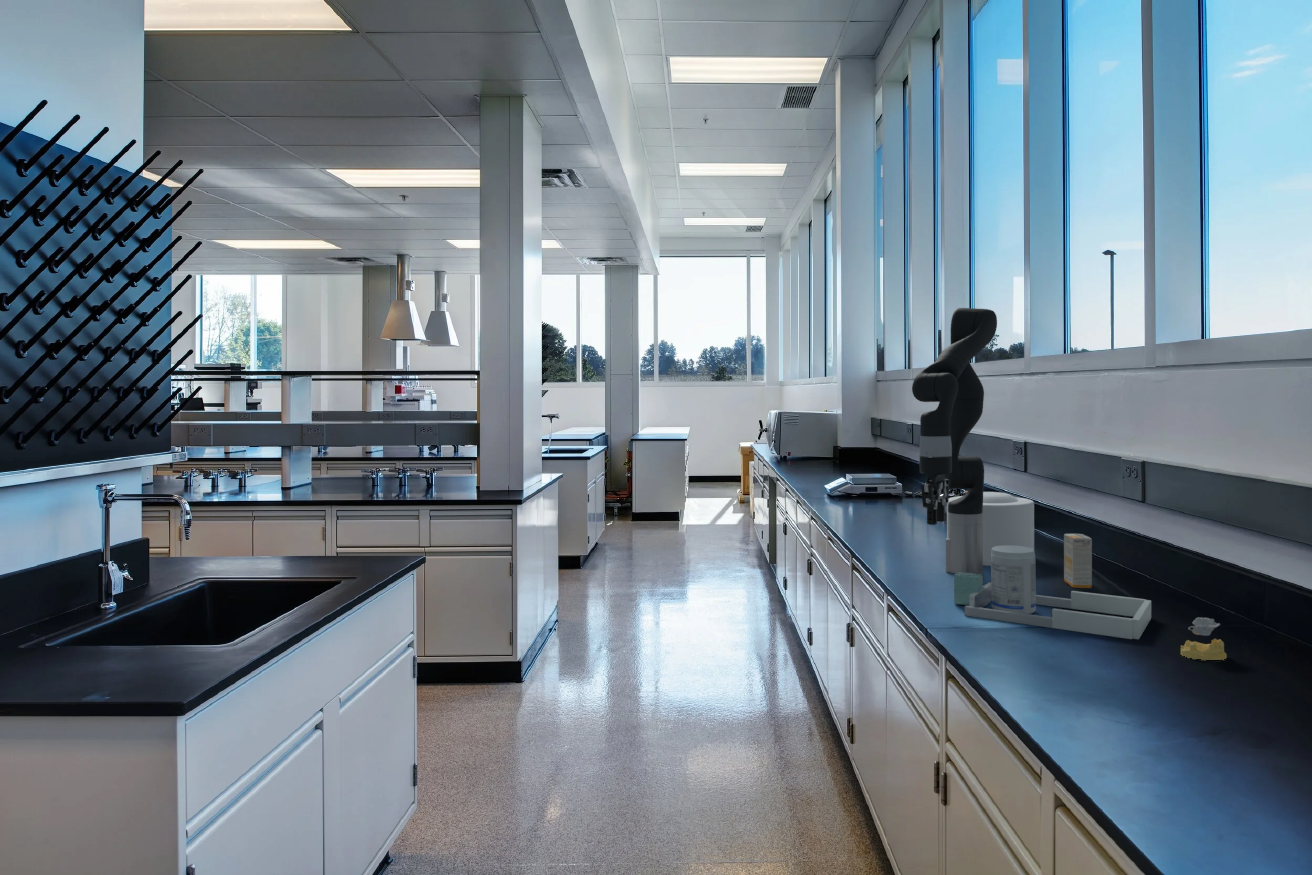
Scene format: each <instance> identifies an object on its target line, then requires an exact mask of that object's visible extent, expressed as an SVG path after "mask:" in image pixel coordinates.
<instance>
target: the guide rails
mask: <svg viewBox="0 0 1312 875" xmlns="http://www.w3.org/2000/svg"><path fill="white" fill-rule="evenodd" d="M1036 605H1038V606H1047V607H1055V608H1064V609H1070V610H1071V598H1067V597H1066V598H1065V597H1057V596H1048V595H1041V594H1040V595H1039V594H1036ZM964 616H967V617H975V618H980V619H986V620H987V619H988V620H994V621H1002V622H1007V623H1009V622H1010V623H1015V624H1016V623H1017V624H1021V625H1022V624H1023V625H1030V626H1036V627H1042V628H1043V627H1044V628H1051V629H1053V628H1052V616H1046V615H1039V614H1038V615H1037V614H1032V613H1031V614H1024V613H1017V612H1009V611H1002V610H994V609H993V608H987V607H986V608H985V607H982V608H980V607H972V606H968V605H964Z"/></svg>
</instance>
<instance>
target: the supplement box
mask: <svg viewBox="0 0 1312 875" xmlns="http://www.w3.org/2000/svg"><path fill="white" fill-rule="evenodd" d="M1092 550H1093V539H1092V538H1091V537H1090V536H1088V535H1085V534H1083V533H1064V534H1063V557H1064V558H1063V577H1064V578H1063V582H1064V583H1066V584H1068V585H1070V587H1072V588H1074V589H1075V588H1076V589H1092V587H1093V572H1092V571H1093V570H1092V569H1093V551H1092Z"/></svg>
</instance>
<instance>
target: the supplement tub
mask: <svg viewBox="0 0 1312 875" xmlns="http://www.w3.org/2000/svg"><path fill="white" fill-rule="evenodd" d="M1035 553H1036V551H1035V548H1034V549H1032V548H1029V547H1024V546H1014V545H1003V546H995V547H993V548H992V553H991V566H990V571H991V572H990V575H991V576H990V577H991V578H990V580H991V581H990V582H991V588H992V601H991V609H994V610H1002V611H1009V612H1017V613H1024V614H1031V615H1032V614H1033V613H1035V612H1036V609H1037V604H1036V595H1037V590H1036V589H1037V588H1036V587H1037V583H1036V582H1037V581H1036V580H1037V579H1036V578H1037V576H1036V574H1037V573H1036V572H1037V571H1036V569H1037V568H1036V554H1035Z"/></svg>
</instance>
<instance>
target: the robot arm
mask: <svg viewBox="0 0 1312 875" xmlns="http://www.w3.org/2000/svg"><path fill="white" fill-rule="evenodd" d="M997 319H998V318H997V314H996V312H995V311H994V310H992V309H988V308H969V307H958V308H956V309H955V310H954V312H953V314H952V316H951V320H950V321H951V322H950V345H948V346H947V347H945V348H944V349H943V350H941V352H940V353H939V355H938V357H937V358H936V360H935V361H934V362H933V363H931V364H929V365H928V366H927V367H926V368H924V369H923V370H921V371H920V372H919V373H918V374H917V375H916V376H915V378H914V380H913V382H912V385H911V393H912V395H913V397H914V398H915V400H917V401H919V402H922V403H937V402H938V405H937V408H935V410H930V411H927V412H924V413H922V414H921V415H920V418H919V419H920V422H919V423H920V428H919V429H920V431H919V433H920V437H919V438H920V440H919V447H918V448H919V473H920V474H922V475H926V479H925V483H921V485H920V487H921V490H920V491H921V498H922V499H921V500H922V508H925V509H926V524H927V525H931V526H935V525H937V524H938V522H944V521H945V520H946V515H945V513H946V511H945V510H946V509H945V508H946V507H947V503H948V501H949V500H948V499H949V498H950V497H949V496H950V489H952V490H957V489H958V490H963V489H965V490H967V492H966V493H965V494H964V495H961V496H962V497H961V498H958V499H956V500H953V501H951V502H949V504H948V538H947V537H946V539H945V573H950V574H953V575H955V574H957V573H959V572H964V573H973V574H982V575H983V573H984V569H983V568H984V565H983V513H982V512H983V492H984V486H985V483H984V482H985V465H984V462H983V460H982V458H981V457H979V456H976V455H975V456H974V455H973V456H972V455H970V456H967V455H966V456H959V455H960V449H961V447H962V444H963V442H965V440H966V437H967V436H968V435H969V434H970V432H971V431H972V430H973V428H974V427H975V426H976V425H977V423H978V422H979V420H980V419H981V417H982V414H983V413H984V412H983V411H984V399H985V398H984V397H985V388H984V387H983V383H982V382H981V380H980V378H979V376H978V375H977V373H976V372H975V369H974V367H973V366H972V364H971V360H973V359H974V358H975V357H976V356H977V355H978V354H979V353H980V352H981V351H982V350H983V349H985V347H987V346H988V345H989V343H991V341H992V340H993V339H994V337H995V335H996V332H997V327H998V320H997Z"/></svg>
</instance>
